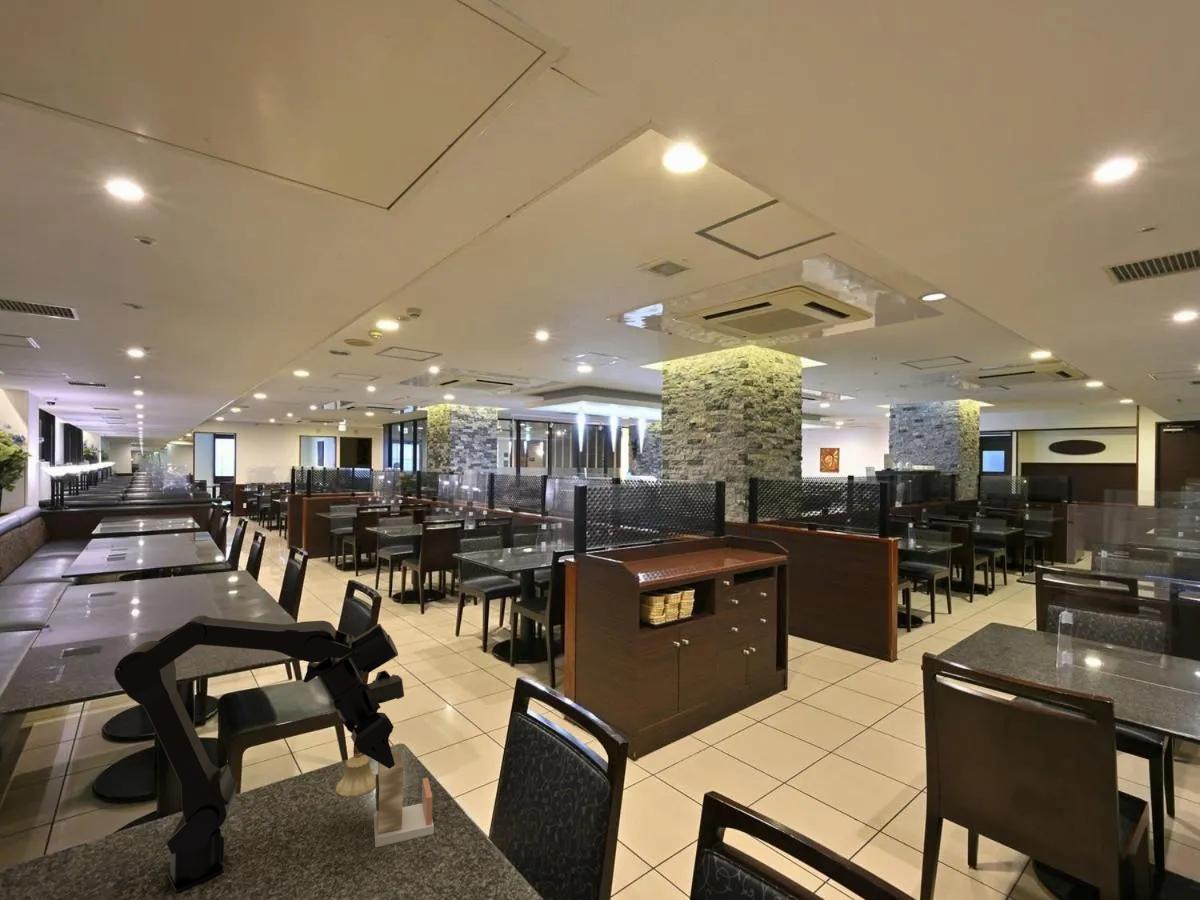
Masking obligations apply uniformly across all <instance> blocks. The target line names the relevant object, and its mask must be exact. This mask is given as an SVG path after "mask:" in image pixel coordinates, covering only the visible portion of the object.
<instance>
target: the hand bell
mask: <svg viewBox="0 0 1200 900" xmlns="http://www.w3.org/2000/svg"><path fill="white" fill-rule="evenodd" d="M352 750H353V752H352V754H353V756H352V757H350V758H349V759H347V760H346V763H345V768H344V774H343V776H342V778H341V779H340V781H338V783H337V784H336V786H335V793H336V794H337V795H338V796H340V797H344V798H355V797H360V796H363V795H366V794H368V793H370V792H372V791H374V790H375V789H376V774H374V773H373V772H372V769H371V765H370V759H369V758H370V757H368V756H367V755H365V754H364V755H363V754H362V753H361V752H359V751H358V749H357V747H356V746H355V744H354V743H353V749H352Z"/></svg>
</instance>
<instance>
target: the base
mask: <svg viewBox="0 0 1200 900" xmlns="http://www.w3.org/2000/svg"><path fill="white" fill-rule="evenodd" d="M421 789H422V790H421V792H422V793H421V794H422V795H421V796H422V797H421V803H417V804H413V805H408V806H402V828H401V829H397V830H392V831H388V832H383V833H379V834H378V821H377V812H374V813H373V829H374V833H373V834H374V847H375V848H377V847H379V848H380V847H383V846H389V845H391V844H395V843H400V842H404V841H405V842H406V841H409V840H414V839H417V838H423V837H425V836H426V837H427V836H430V835H434V833H435V832H434V831H435V824H434V820H433V793H432V789H431V785H430V781H429V777H424V778H422V788H421Z"/></svg>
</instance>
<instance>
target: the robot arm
mask: <svg viewBox="0 0 1200 900" xmlns="http://www.w3.org/2000/svg"><path fill="white" fill-rule="evenodd" d="M196 646H209V647H210V646H212V647H222V648H223V647H224V648H235V649H248V650H249V649H250V650H257V651H258V650H260V651H271V652H277V653H281V654H283V655H285V656H286V657H289V658H291V659H294V660H295V659H296V660H299V661H303V662H307V665H306V672H305V675H304V678H303V683H309V682H311V680H314V679H315V678H317V679H318V681H319V683H320V684H321V685H322V688H323V689H324V691H325V693H326V694H327V696H328V697H329V699H330V701H331V703H332V705H333V706H334V708H335V710H336V711H337V713H338V714H337V715H338V717H339V719H340V721H341V722H342V724H343V726H344V727H345V729H346V730H347V732H349V733H351V736H350V739H351V740H352V742H353V745H354V744H355V746H356V747H357V749H358V751H359V752H361V753H362V755H363V754H364V755H365V756H367V757H368V758H370V759H372V760H373V761H376V762H377V763H378V762H379V763H381V764H382V765H384V766H386V767H387V768H389V769H390V768H392V767H393V766H394V765H395V763H394V759H393V755H392V753H393V752H392V749H391V745H390V742H389V739H390V735H391V734H392V733H393V730H394V727H395V726H394V724H392V721H391V720H390V718H389V716H388V715H387V714H386V713H385V712H378V711H379V709H381V708H382V707H381V705H380V704H383V703H386V702H390V701H393V700H399V699H403V698H404V697H405V692H404V691H405V690H404V684H403V678H402V677H400V675H398V674H394V673H393V674H392V675H390V674H389V672H388V671H387V670H385V669H384V670H381V671H378V672H377V673H376V676H375V679H373V680H372V682H369V683H366V681H365V680H364V678H363V679H362V678H361V675H360V674H359V672H358V671H360V672H363V673H368V674H369V673H371V672H373V671H375V670H376V669H378V668H379V667H382V666H384V665H385V664H386V663H388V662H390V661H391V660H393V659H395V658H396V657H398V656H399V653H398V649H397V647H396V645H395V643H394V641H393V639H392V637H391V635H390V634H388V633H387V631H386V630H385V628H383V626H382V624H381V623H377V624H376V625H374V626H372V627H371V628H370V629H369V630H367V631H365V632H364V633H362V634H359V635H358V636H357V637H355V636H354V635H351V634H348V633H345V632H343V631H340V630H338V629H336V627H334V625H333V624H332V623H331V622H329V621H326V620H308V621H307V620H306V621H299V622H293V623H287V624H279V623H270V622H268V623H267V622H257V621H248V620H238V619H237V620H236V619H227V618H217V617H210V616H207V615H197V616H193V617H192V618H191V619H190V620H188V621H187V622H186V623H185V624H183V625H181V626H180V627H178V628H176V629H175V630H172V632H170V633H169V634H166V635H165V636H164V637H162V638H160V639H158V640H149V641H145V642H143V643H141V644H139V645H137V646H136V647H135V648H134V649H133V650H131V651H130V652H129V653H127V654H125V656H123V657H122V658H121V659H120V660H119V661H118V663H117V665H116V667H115V669H114V673H113V674H114V679H115V681H116V683H118V685H119V686H120V688H121V689H122V690H123V692H124V693H125V694H126V695H127V697H128V698H130V699H131V700H133V701H134V702H136V703H137V704H139V706H142V707H143V709H144V710H145V712H146V714H147V716H148V719H149V721H150V723H151V725H152V727H153V729H154V731H155V733H156V736H157V737H158V739H159V742H160V744H161V745H162V748H163V750H164V752H165V754H166V757H167V759H168V761H169V764H170V765H171V768H172V769H173V771H174V773H175V776H176V778H177V780H178V782H179V785H180V803H181V804H180V807H181V812H182V815H181V817H180V818H179V820H178V822H177V825H176V826H175V828H174V830H173V832H172V833H171V834H170V836H169V838H168V840H167V842H166V845H167V847H168V848H167V849H168V850H169V851H170V863H169V864H170V866H169V867H170V868H169V869H168V870H167V871H166V875H167V877H168V879H169V881H170V883H171V886H172V887H173V889H174V892H175V893H179V892H182V891H185V890H187V889H189V888H191V887H193V886H195V885H198V884H200V883H202V882H204V881H206V880H208V879H211V878H213V877H215V876H218V875H221V874H222V873H223V872H224V867H223V865H222V863H223V862H224V859H225V858H224V857H225V836H224V835H223V833H221V832H222V830H221V827H222V825H223V824H224V823H225V820H226V818H227V816H228V814H229V812H230V810H231V807H232V805H233V802H234V801H235V798H236V793H237V790H236V788H237V786H238V783H239V782H238V781H237V780H236V779H235V778H234V777H233V774H232V770H231V767H230V765H229V764H228V763H227V764H225V765H224V766H223V767H221V768H219V767H218V766H216V765H214V764H213V763H212V762H211V760H210V758H209V756H208V754H207V751H206V749H205V747H204V745H203V743H202V741H201V739H200V737H199V734H198V732H197V730H196V728H195V726H194V723H193V721H192V720H191V717H190V715H189V713H188V711H187V709H186V707H185V704H184V703H183V700H182V698H181V696H180V694H179V692H178V689H177V688H178V687H177V667H176V664H175V663H176V662H175V660H177V658H179V657H181V656H182V655H183V654H185V653H187V652H188V651H189V650H190V649H192V648H194V647H196ZM350 658H352V661H353V662H352V661H351V659H350ZM353 663H354V664H353ZM355 666H356V668H355ZM357 669H358V671H357Z"/></svg>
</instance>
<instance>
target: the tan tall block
mask: <svg viewBox="0 0 1200 900" xmlns="http://www.w3.org/2000/svg"><path fill="white" fill-rule="evenodd" d="M392 755H393V759H394V763H395V765H394V766H393V767H392V768H390V769H389V768H387V767H386V766H384V765H382V764H381V763H379V762H377V765H378V766H377V773H376V774H375V776H376V787H375V789H374V790H375V792H374V793H375V796H374V797H375V810H376V813H377V821H378V834H379V833H383V832H388V831H392V830H397V829H401V828H402V807H403V797H404V795H403V794H404V793H403V792H404V790H403V788H404V763H403V757H402V752H401V751H397V752H392Z"/></svg>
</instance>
